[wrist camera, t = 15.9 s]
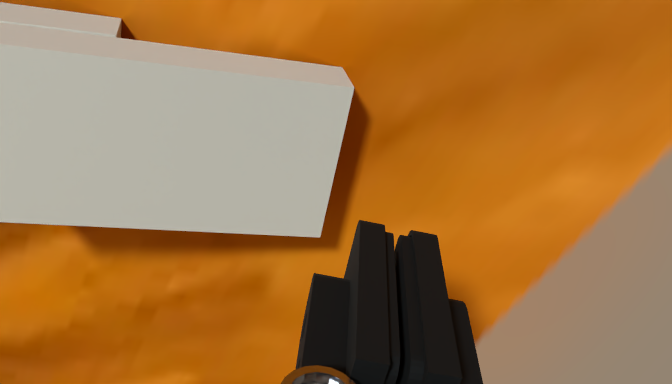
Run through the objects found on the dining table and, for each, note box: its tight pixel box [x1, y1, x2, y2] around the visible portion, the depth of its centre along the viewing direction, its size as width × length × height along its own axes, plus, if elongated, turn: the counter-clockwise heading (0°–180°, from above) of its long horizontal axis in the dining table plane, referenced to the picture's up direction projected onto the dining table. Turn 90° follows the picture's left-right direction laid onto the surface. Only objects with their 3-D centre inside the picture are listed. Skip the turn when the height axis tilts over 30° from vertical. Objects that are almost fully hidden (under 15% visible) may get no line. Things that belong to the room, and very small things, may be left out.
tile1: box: [0, 22, 354, 237], centre depth 16 cm, size 2×5×10 cm
